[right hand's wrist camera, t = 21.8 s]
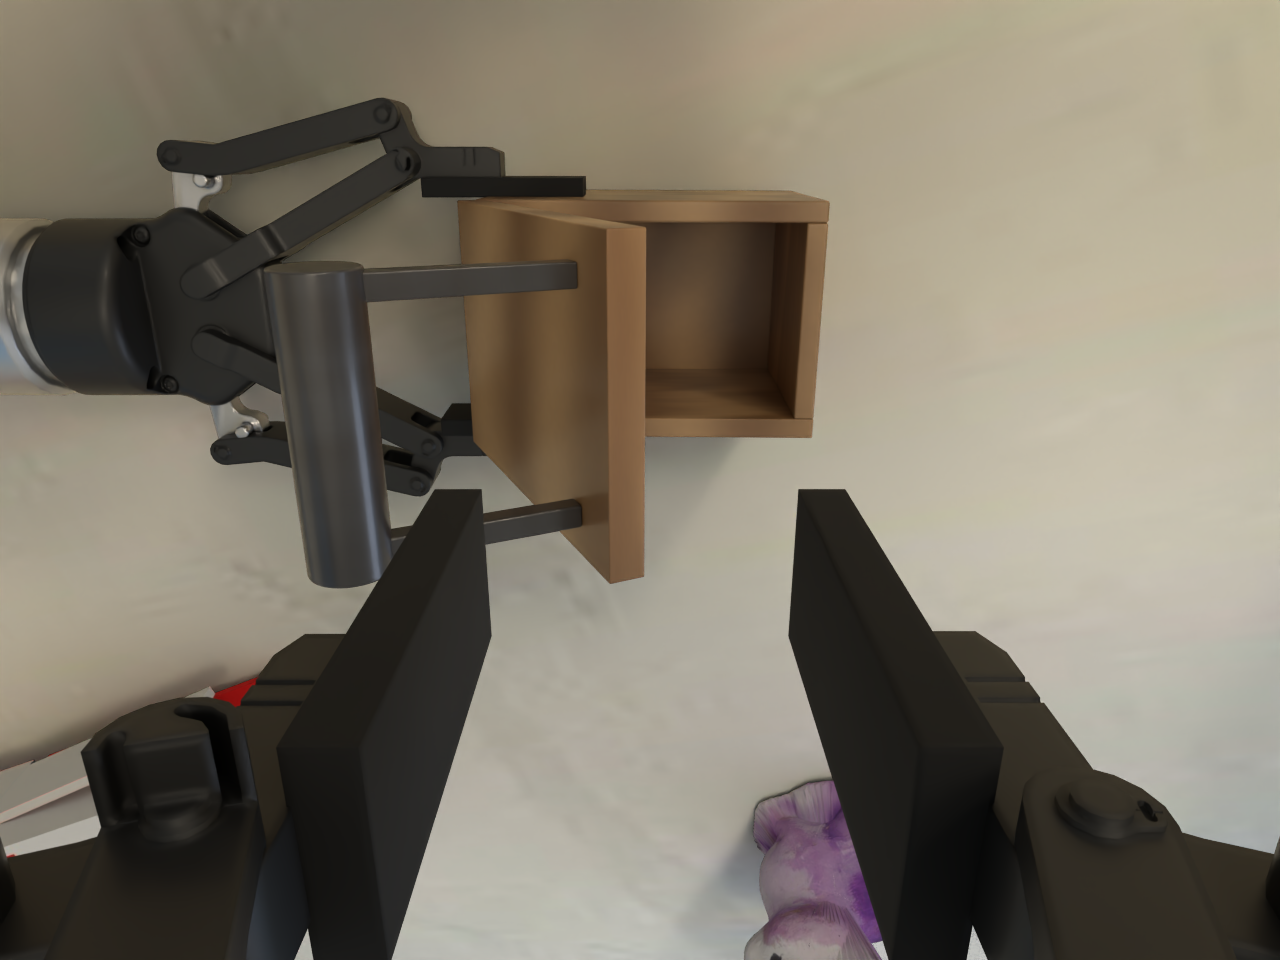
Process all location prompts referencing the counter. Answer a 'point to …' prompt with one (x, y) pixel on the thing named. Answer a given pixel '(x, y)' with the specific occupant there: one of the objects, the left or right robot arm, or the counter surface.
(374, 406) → the lid
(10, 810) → the toy
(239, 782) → the right robot arm
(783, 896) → the figurine
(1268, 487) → the counter surface
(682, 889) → the counter surface
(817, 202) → the chest
